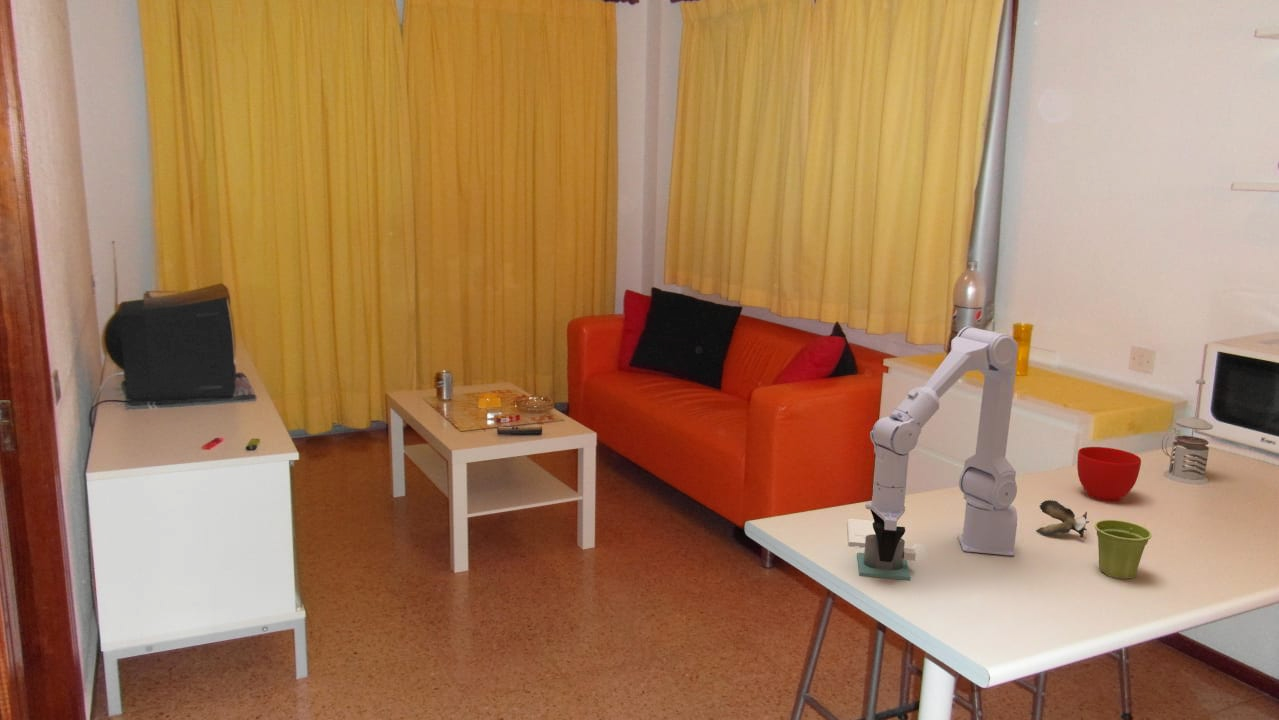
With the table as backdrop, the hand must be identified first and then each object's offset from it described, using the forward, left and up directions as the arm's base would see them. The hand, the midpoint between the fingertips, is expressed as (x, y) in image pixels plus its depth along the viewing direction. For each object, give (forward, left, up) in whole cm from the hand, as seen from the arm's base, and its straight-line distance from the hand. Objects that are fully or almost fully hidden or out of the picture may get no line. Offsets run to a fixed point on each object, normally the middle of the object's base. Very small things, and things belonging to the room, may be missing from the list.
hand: (884, 552), depth 171 cm
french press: (-77, -72, -3) cm, 105 cm away
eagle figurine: (-38, -26, -3) cm, 46 cm away
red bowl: (-54, -54, -3) cm, 76 cm away
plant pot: (-43, -8, -3) cm, 44 cm away
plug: (0, 0, -2) cm, 2 cm away
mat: (0, 0, -3) cm, 3 cm away
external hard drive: (+2, -15, -4) cm, 16 cm away
